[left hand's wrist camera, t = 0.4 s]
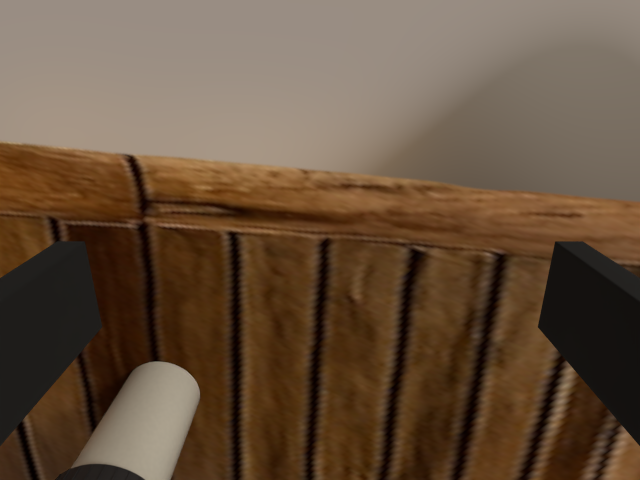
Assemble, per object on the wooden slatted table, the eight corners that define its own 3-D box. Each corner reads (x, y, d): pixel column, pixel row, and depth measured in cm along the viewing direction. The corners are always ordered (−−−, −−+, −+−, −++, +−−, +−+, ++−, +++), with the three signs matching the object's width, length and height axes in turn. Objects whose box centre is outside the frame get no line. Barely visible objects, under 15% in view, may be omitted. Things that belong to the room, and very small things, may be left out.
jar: (212, 409, 49) (168, 548, 35) (148, 429, 50) (79, 572, 36) (178, 351, 46) (115, 476, 32) (111, 374, 48) (21, 505, 33)
